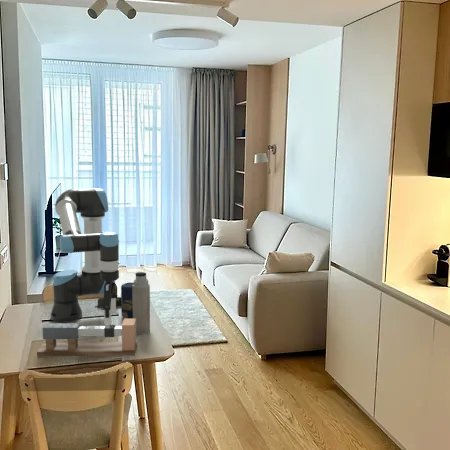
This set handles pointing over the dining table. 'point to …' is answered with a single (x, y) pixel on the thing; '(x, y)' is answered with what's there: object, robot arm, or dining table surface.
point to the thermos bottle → (141, 303)
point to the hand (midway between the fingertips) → (110, 318)
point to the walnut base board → (83, 349)
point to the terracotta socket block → (128, 334)
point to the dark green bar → (100, 304)
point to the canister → (127, 301)
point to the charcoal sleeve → (60, 331)
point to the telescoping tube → (100, 330)
